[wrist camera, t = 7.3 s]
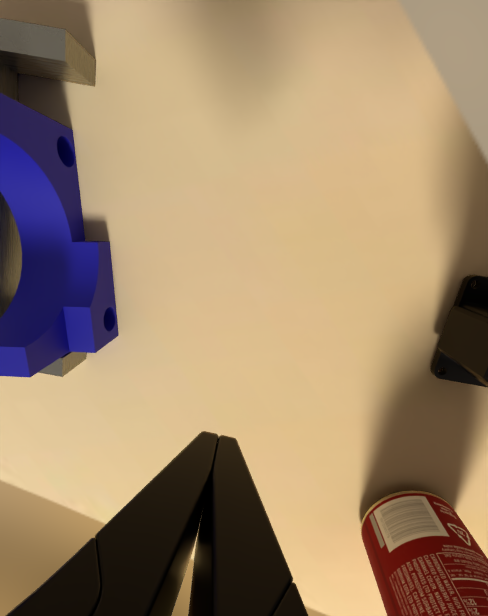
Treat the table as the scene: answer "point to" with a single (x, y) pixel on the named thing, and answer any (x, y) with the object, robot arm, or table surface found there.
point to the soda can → (424, 557)
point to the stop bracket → (3, 79)
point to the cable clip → (50, 249)
